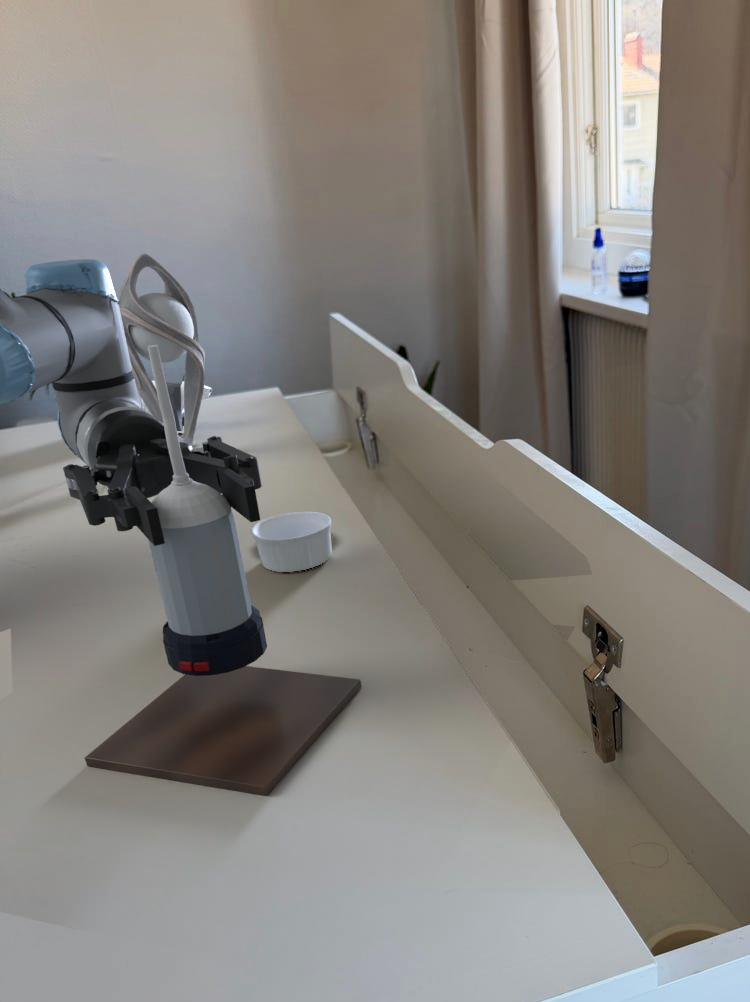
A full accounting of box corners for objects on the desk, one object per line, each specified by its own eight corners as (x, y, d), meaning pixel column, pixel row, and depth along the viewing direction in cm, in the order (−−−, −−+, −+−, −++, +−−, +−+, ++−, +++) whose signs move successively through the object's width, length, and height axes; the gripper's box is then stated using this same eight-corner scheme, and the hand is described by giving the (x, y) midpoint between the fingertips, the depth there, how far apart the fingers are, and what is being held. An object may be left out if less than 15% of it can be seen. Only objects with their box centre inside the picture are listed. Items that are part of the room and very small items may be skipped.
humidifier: (176, 685, 77) (99, 362, 65) (161, 644, 84) (88, 345, 72) (278, 659, 80) (220, 345, 68) (255, 622, 86) (199, 330, 75)
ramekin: (255, 580, 106) (248, 543, 104) (259, 550, 114) (252, 515, 112) (337, 570, 107) (331, 533, 105) (335, 541, 115) (330, 507, 113)
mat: (86, 766, 76) (84, 757, 75) (203, 668, 89) (201, 660, 88) (266, 796, 70) (265, 786, 70) (361, 687, 84) (360, 679, 83)
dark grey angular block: (129, 438, 166) (116, 381, 161) (139, 430, 170) (126, 374, 166) (215, 432, 165) (204, 375, 161) (222, 424, 170) (212, 368, 166)
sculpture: (231, 446, 156) (193, 246, 143) (216, 468, 146) (174, 254, 133) (159, 452, 156) (114, 252, 143) (139, 474, 146) (89, 261, 133)
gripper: (239, 467, 95) (334, 531, 77) (28, 513, 87) (80, 597, 69) (224, 390, 92) (321, 439, 74) (4, 430, 83) (52, 496, 65)
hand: (205, 515), depth 72 cm, fingers closed on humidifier, 7 cm apart
